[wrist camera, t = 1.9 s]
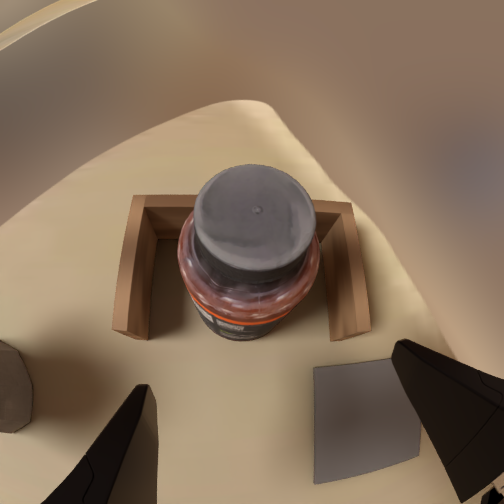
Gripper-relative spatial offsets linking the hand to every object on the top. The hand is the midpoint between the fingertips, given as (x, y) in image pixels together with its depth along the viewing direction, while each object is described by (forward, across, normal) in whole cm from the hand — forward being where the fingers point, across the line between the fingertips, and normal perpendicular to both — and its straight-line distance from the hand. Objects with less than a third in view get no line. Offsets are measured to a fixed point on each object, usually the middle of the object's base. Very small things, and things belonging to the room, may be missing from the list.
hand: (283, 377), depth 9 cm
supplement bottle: (+12, 0, +4) cm, 13 cm away
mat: (+4, -9, +13) cm, 16 cm away
